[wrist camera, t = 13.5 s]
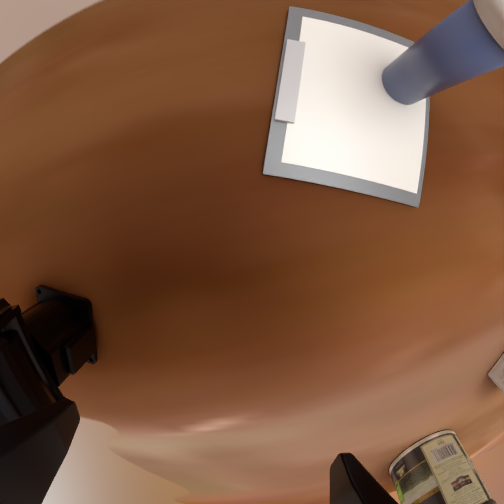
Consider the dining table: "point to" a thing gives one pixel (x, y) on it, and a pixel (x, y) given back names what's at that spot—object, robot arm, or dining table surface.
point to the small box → (498, 373)
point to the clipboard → (345, 111)
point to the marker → (449, 53)
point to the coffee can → (438, 473)
